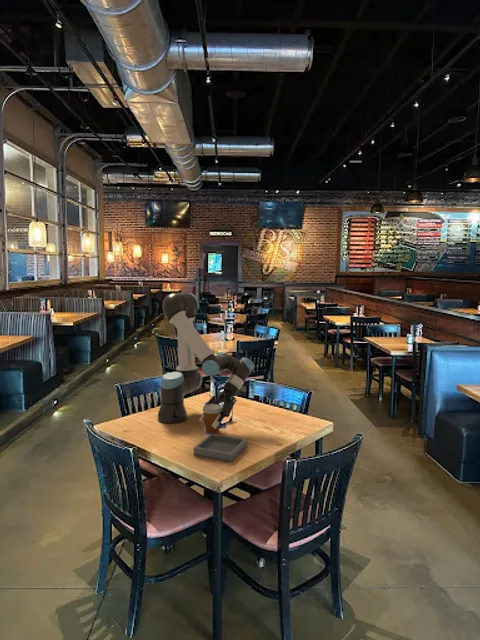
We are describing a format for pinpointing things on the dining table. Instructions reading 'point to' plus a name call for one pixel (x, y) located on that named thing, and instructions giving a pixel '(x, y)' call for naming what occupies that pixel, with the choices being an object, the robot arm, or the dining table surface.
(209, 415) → the disposable coffee cup
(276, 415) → the dining table surface
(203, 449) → the tray
